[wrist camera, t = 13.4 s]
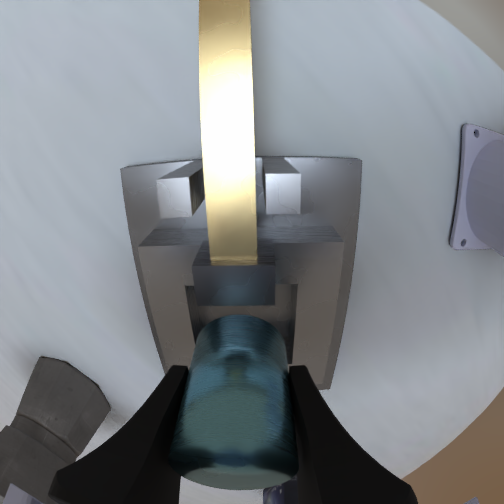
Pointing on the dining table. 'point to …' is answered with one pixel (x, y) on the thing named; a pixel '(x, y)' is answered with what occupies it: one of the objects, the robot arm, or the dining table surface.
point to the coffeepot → (49, 427)
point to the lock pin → (229, 164)
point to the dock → (314, 208)
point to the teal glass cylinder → (236, 409)
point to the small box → (282, 493)
